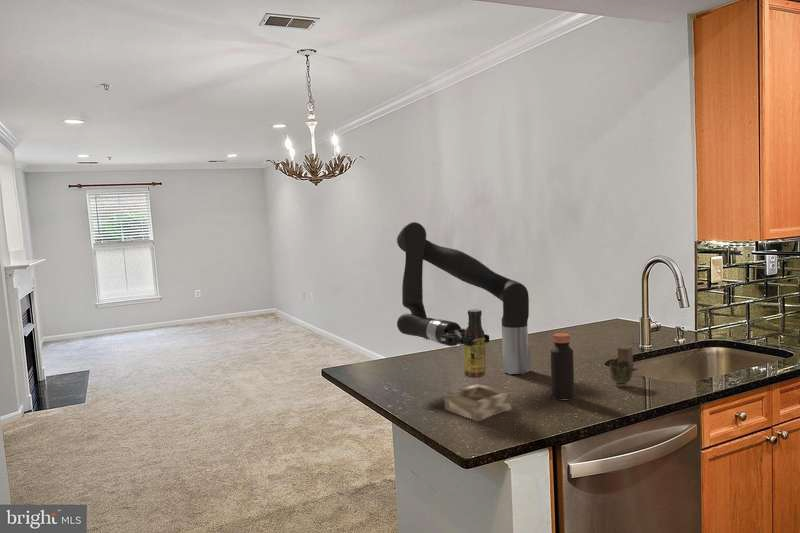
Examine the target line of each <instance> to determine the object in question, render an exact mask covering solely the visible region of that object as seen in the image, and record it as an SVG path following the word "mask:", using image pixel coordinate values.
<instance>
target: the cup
mask: <svg viewBox="0 0 800 533" xmlns="http://www.w3.org/2000/svg"><path fill="white" fill-rule="evenodd" d="M608 366H609V373H610V377H611V379H612V380H613V382H615V386H616V387H617V386H618V387H617V388H620V387H624V388H627V387H626V386H628V383H629V382H630V381H631V379H632V376H633V369H634V362H633V363H631V362H630V363H629V362H628V361H623V360H622V362H619V363H618V359H616V360H614V359H613V360H610V361H608Z"/></svg>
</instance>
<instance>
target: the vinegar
mask: <svg viewBox="0 0 800 533" xmlns="http://www.w3.org/2000/svg"><path fill="white" fill-rule="evenodd" d="M552 337H553V339H552V340H553V344H554V346H553V347H552V348H551V350H550V381H551V383H550V384H551V397H552V398H553V397H554V398H556V399H571V400H572V398H573V399H574V397H575V383H574V382H575V379H574V378H575V376H574V375H575V374H574V373H575V371H574V366H575V365H574V350H573V349H572V347H570V342H571V338H570V337H571V335H570V334H569V333H566V332H565V333H564V332H559V333H558V332H557V333H554V334H553V336H552ZM554 398H553V399H554ZM556 399H555V400H556Z"/></svg>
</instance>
